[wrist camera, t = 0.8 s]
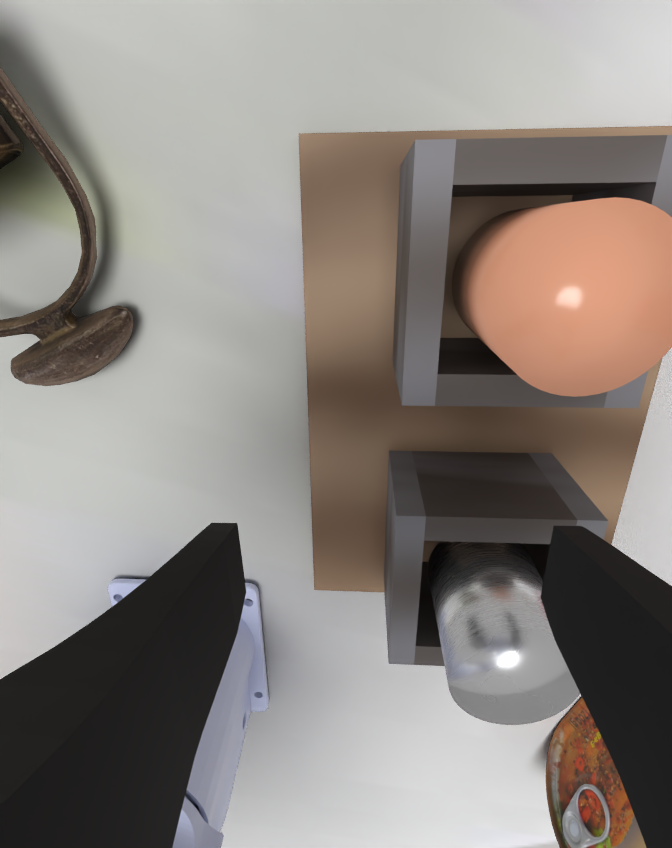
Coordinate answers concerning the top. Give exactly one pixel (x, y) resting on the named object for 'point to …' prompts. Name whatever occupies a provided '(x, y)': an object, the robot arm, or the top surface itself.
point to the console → (447, 360)
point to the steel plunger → (497, 633)
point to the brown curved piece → (56, 324)
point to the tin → (587, 788)
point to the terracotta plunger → (571, 292)
